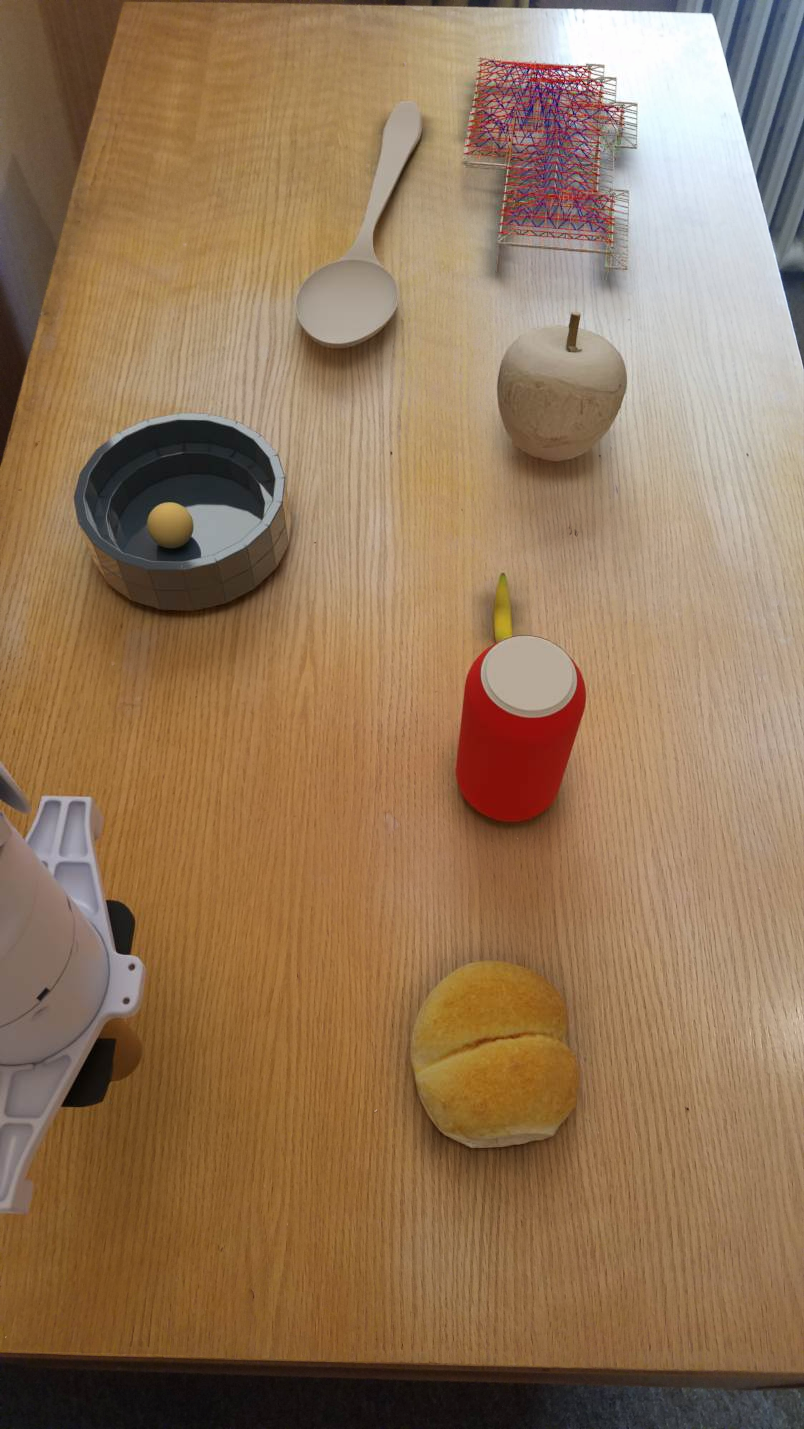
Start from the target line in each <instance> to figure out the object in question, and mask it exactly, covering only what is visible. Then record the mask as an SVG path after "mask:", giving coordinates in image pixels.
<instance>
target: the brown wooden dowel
mask: <svg viewBox="0 0 804 1429" xmlns="http://www.w3.org/2000/svg"><path fill="white" fill-rule="evenodd" d="M98 1038H116V1046H115V1052H114V1059H113V1063H114V1068H113V1074H112V1080H111V1082H119V1081H121V1080H124V1079H126V1078H128V1077H129V1076H130V1075H132V1074H133V1072H135V1070H136V1069H137V1068H138V1066H139V1065H140V1062H141V1059H142V1056H143V1045H142V1042H141V1039H140V1037H139V1036H138V1034H137V1033H136V1032H135V1031H134V1030H133V1029H132V1028H131V1027H130V1026H129V1025H128V1024H127V1023H126V1022H125V1021H124V1020H123V1018H113V1019H110V1020H109V1021H108V1022H106V1023H105V1025H104V1026H103V1028H102V1030H101V1032H100V1034H99V1036H98Z"/></svg>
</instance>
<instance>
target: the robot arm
mask: <svg viewBox="0 0 804 1429" xmlns="http://www.w3.org/2000/svg"><path fill="white" fill-rule="evenodd" d="M0 801H1V802H3V803H4V804H6V805H7V806H9V807H11V808H12V809H14V810H15V811H18V812H19V813H22V814H26V815H27V814H28V815H29V814H31V813H32V811H33V808H32V805H31V804H30V801H29V800H28V797H26V795H25V794H24V792H23V791H22V789H21V788H20V787H19V785H18V783H17V782H16V781H15V779H14V778H13V776H12V775H11V773H10V772H9V771H8V769H7V768H6V766H5V765H4V764H3V762H1V761H0ZM104 820H105V816H104V815H103V813H102V812H101V810H100V808H99V807H98V805H97V804H96V801H95V800H94V799H93V797H92V796H72V795H69V796H68V795H42V796H41V797H40V802H39V805H38V808H37V811H36V815H35V818H34V820H33V821H32V825H31V826H30V828H29V830H28V832H27V834H26V836H25V838H24V837H23V835H22V834H21V833H20V832H19V831H18V829H17V828H16V827H15V826H14V825H13V823H12V822H11V821H10V819H9V818H8V817H7V815H6V814H5V813H4V811H3V810H2V809H1V808H0V1214H1V1215H3V1214H4V1215H28V1214H29V1212H30V1208H31V1203H32V1198H33V1193H34V1187H35V1186H34V1185H35V1184H34V1181H33V1180H32V1179H30V1178H29V1177H27V1175H28V1172H29V1170H30V1167H31V1164H32V1163H33V1161H34V1158H35V1157H36V1154H37V1152H38V1151H39V1148H40V1146H41V1143H42V1142H43V1141H44V1139H45V1137H46V1135H47V1133H48V1131H49V1130H50V1127H51V1126H52V1124H53V1121H54V1120H55V1118H56V1116H57V1114H58V1112H59V1111H60V1109H61V1108H88V1107H92V1106H95V1105H98V1104H101V1103H102V1102H104V1100H105V1097H106V1095H107V1093H108V1089H109V1086H110V1084H111V1083H112V1081H111V1080H112V1074H113V1068H114V1063H113V1059H114V1052H115V1046H116V1038H98V1036H99V1034H100V1032H101V1030H102V1028H103V1026H104V1025H105V1023H106V1022H108V1021H109V1020H110V1019H113V1018H121V1019H127V1018H128V1019H129V1018H133V1017H135V1015H136V1014H138V1013H139V1011H140V1009H141V1007H142V1004H143V998H144V993H145V992H144V990H145V985H146V978H147V968H146V965H145V964H144V963H143V962H142V960H141V959H140V958H139V957H138V956H136V955H133V954H132V947H133V941H134V937H135V929H136V917H135V915H134V914H133V912H132V911H131V910H130V908H129V907H128V906H127V905H126V904H125V903H123V902H121V901H119V900H114V899H107V898H106V895H105V889H104V884H103V879H102V873H101V869H100V864H99V859H98V854H97V847H96V841H98V840H99V839H100V837H101V835H102V831H103V827H104V826H103V825H104Z"/></svg>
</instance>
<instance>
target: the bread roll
mask: <svg viewBox="0 0 804 1429" xmlns="http://www.w3.org/2000/svg"><path fill="white" fill-rule="evenodd" d="M568 1019H569V1016H568V1011H567V1008H566V1004H565V1001H564V999H563V997H562V995H561V994H560V993H559V992H558V990H557V989H556V988H555V987H554V986H553V985H552V984H551V983H550V982H549V981H547V980H546V979H544V977H543V976H541V975H540V974H539V973H537V972H535V971H533V970H531V969H529V968H528V967H526V966H521V965H519V964H515V963H511V962H507V961H502V960H481V961H473V962H470V963H467V964H466V963H465V964H464V965H462V966H460V967H458V968H457V969H455V970H453V971H452V972H450V973H449V974H448V975H446V976H445V977H444V978H443V979H442V980H440V981H439V983H438V984H436V986H434V988H433V989H432V990H431V992H430V993H429V994H428V996H427V997H426V999H425V1000H424V1002H423V1003H422V1005H421V1007H420V1009H419V1011H418V1013H417V1015H416V1019H415V1021H414V1025H413V1027H412V1032H411V1037H410V1044H409V1045H410V1046H409V1047H410V1048H409V1055H410V1063H411V1066H412V1067H411V1068H412V1070H413V1074H414V1081H415V1085H416V1090H417V1095H418V1097H419V1100H420V1103H421V1105H422V1107H423V1108H424V1110H425V1112H426V1114H427V1116H428V1117H429V1119H430V1120H431V1122H432V1123H433V1124H434V1126H435V1127H436V1128H437V1129H438V1131H439V1132H440V1133H442V1134H443V1135H444V1136H445V1137H448V1138H450V1139H452V1140H453V1141H455V1142H458V1143H459V1144H463V1145H464V1146H466V1147H468V1148H471V1149H476V1148H477V1149H483V1148H485V1149H486V1148H503V1147H510V1146H513V1145H518V1146H519V1145H522V1144H527V1143H529V1142H535V1141H543V1140H546V1139H549V1138H552V1137H554V1136H555V1135H556V1132H557V1131H558V1129H559V1127H560V1125H561V1124H562V1123H564V1122H565V1121H566V1119H567V1118H568V1117H569V1116H570V1114H571V1113H572V1112H573V1110H574V1108H575V1106H576V1104H577V1098H578V1094H579V1087H580V1072H579V1071H580V1069H579V1066H578V1063H577V1060H576V1057H575V1054H574V1052H572V1050H571V1049H570V1047H569V1046H568V1045H567V1042H566V1032H567V1030H568V1021H569V1020H568Z"/></svg>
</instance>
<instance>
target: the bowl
mask: <svg viewBox="0 0 804 1429" xmlns="http://www.w3.org/2000/svg"><path fill="white" fill-rule="evenodd" d="M79 472H80V473H78V478H77V482H76V485H75V490H74V494H73V502H74V503H73V504H74V510H75V514H76V520H77V524H78V526H79V529H80V531H81V534H82V536H83V537H84V541H85V543H86V546H87V548H88V551H89V553H90V556H91V558H92V561H93V563H94V565H95V567H96V568H97V569H98V571H99V573H100V574H101V576H102V577H103V579H104V581H106V583H107V584H108V585H109V586H110V587H111V588H113V589H114V590H116V591H117V592H118V593H119V594H121V595H123V596H124V597H126V598H127V599H128V600H130V601H132V602H135V603H138V604H141V605H145V606H149V607H151V608H155V609H157V610H162V611H199V610H202V609H207V608H212V607H215V606H219V605H225V604H229V603H230V602H231V601H233V600H236V599H237V598H239V597H241V596H243V595H245V594H247V593H248V592H250V591H253V590H255V588H257V587H258V586H259V585H261V583H263V581H264V580H265V579H266V578H268V576H270V575H271V574H272V573H273V571H275V570H276V568H277V567H278V565H279V563H280V562H281V560H282V558H283V556H284V554H285V552H286V550H287V548H288V546H289V544H290V534H291V525H292V516H291V509H290V501H289V496H288V495H289V494H288V486H287V480H286V476H285V472H284V469H283V466H282V462H281V459H280V456H279V454H278V453H277V451H276V450H275V449H274V448H273V447H272V446H271V445H270V443H269V442H268V441H267V440H266V438H265V437H264V436H263V435H261V434H260V433H258V432H256V431H255V430H253V429H251V428H250V427H248V426H246V425H245V424H243V423H242V422H240V421H238V420H234V419H230V418H227V417H222V416H219V415H215V414H211V413H199V412H198V413H197V412H196V413H195V412H194V413H193V412H178V413H171V414H166V415H162V416H157V417H152V418H148V419H145V420H142V421H140V422H138V423H135V424H133V425H131V426H129V427H126V428H125V429H122V430H120V431H118V432H116V433H115V434H114V435H112V436H111V437H110V438H109V439H108V440H106V441H104V442H103V444H102V445H100V446H99V447H98V448H96V449H95V451H94V452H93V453H92V455H91V456H90V458H89V459H88V460H87V462H86V464H85V465H84V466H83V467H82V469H81V471H79ZM168 502H171V503H177V504H179V505H181V506H183V507H184V508H185V509H187V511H188V512H189V513H190V515H191V517H192V519H193V524H194V528H193V533H192V536H191V538H190V539H189V541H188V542H187V543H186V544H184V545H183V546H181V547H178V548H165V547H162V546H160V545H158V544H157V543H156V542H154V540H153V539H152V538H151V536H150V535H149V532H148V528H147V521H148V517H149V514H150V513H151V511H152V510H153V509H154V508H155V507H156V506H158V505H160V504H163V503H168Z"/></svg>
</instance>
